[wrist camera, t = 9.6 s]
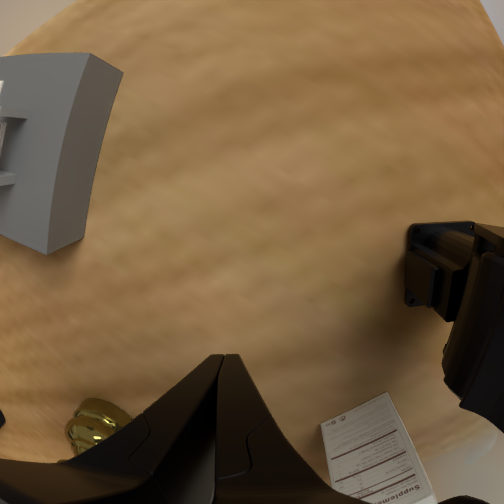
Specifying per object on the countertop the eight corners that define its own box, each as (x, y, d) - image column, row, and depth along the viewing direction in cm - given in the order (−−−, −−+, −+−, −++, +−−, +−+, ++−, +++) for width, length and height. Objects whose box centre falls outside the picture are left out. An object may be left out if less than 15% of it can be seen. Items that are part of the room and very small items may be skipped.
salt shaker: (112, 392, 26) (70, 463, 16) (153, 439, 27) (127, 510, 18) (69, 400, 27) (27, 458, 17) (107, 443, 28) (78, 503, 19)
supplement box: (404, 426, 26) (442, 515, 14) (343, 454, 27) (362, 548, 15) (388, 388, 24) (435, 494, 12) (317, 422, 26) (335, 534, 13)
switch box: (123, 72, 18) (65, 39, 10) (83, 237, 21) (20, 268, 14) (34, 68, 18) (-25, 51, 10) (5, 208, 21) (-56, 225, 14)
